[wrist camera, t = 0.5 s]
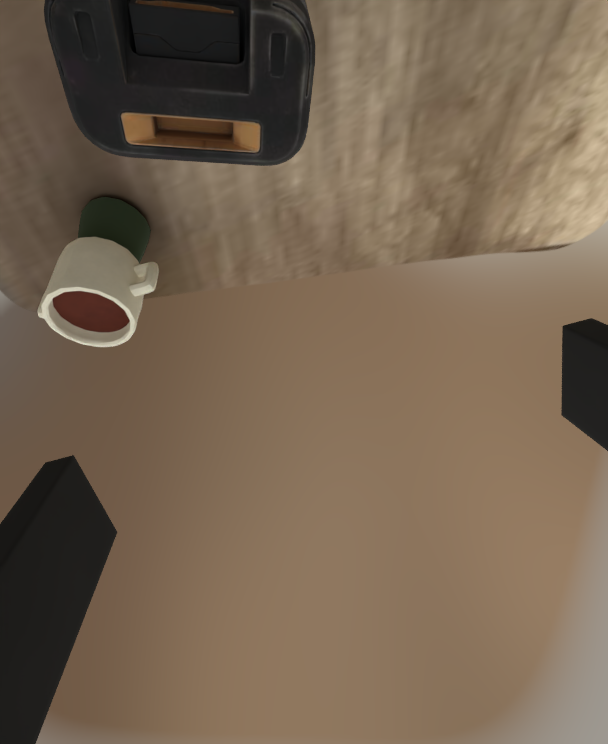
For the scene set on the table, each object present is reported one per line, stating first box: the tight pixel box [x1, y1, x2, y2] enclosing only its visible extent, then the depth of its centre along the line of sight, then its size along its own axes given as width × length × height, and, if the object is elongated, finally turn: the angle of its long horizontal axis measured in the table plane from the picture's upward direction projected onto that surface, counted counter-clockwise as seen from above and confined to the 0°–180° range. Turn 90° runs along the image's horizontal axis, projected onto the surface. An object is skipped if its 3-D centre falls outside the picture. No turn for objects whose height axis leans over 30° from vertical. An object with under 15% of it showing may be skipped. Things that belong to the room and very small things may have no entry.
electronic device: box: [44, 0, 315, 166], centre depth 22 cm, size 9×6×20 cm, turn 84°
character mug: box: [38, 197, 159, 347], centre depth 39 cm, size 11×7×13 cm, turn 104°
